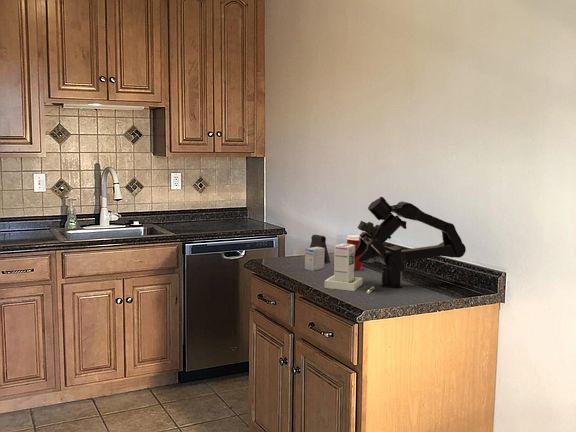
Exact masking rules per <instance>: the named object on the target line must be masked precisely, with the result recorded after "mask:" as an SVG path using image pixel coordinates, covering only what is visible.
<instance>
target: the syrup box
mask: <svg viewBox="0 0 576 432" xmlns="http://www.w3.org/2000/svg"><path fill="white" fill-rule="evenodd" d="M333 265H334V267H333V268H334V269H333V270H334V271H333V275H334V281H337V282H346V283H354V282H355V277H356V276H355V273H356V271H355V245H353V244H347V243H341V244H337V245H334V263H333Z"/></svg>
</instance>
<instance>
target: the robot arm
mask: <svg viewBox="0 0 576 432" xmlns="http://www.w3.org/2000/svg"><path fill="white" fill-rule="evenodd" d="M367 210H368V211H369V212H370V213H371V214H372V215H373V216H374V217H375V219H377V220H378V221H382V222H381V223H380V224H376V225H375V226H374V223H373V222H371V221H368V222H366V221H363V220H360V222H359V224H358V226H357V229H358V230H360V231H362V232H361V233H360V234H358V235H359V236H360V237H361V238H360V237H359V242H360V243H359V245H358V247H357V249H356V250H355V257H357V256H359V255H361V254H362V255H361V257H360V258H359V259H358V261H359V262H362V263H363V262H366V261H368V260H370V259H373V258H375V257H377V258H378V260H379V263H380V262H381V264H382V267H383V268H384V269H383V271H382V273H381V284H382V285H381V286H382V287H386V288H387V287H388V288H397V289H398V288H399V289H400V288H401V287H402V286H403V285H404V283H403V272H404V271H405V268H406V265H405V264H404V263H405V262H409V261H415V260H417V261H418V260H422V259H431V258H437V257H445V258H446V257H447V258H456V259H457V258H462V257H463V256H464V255H465V253H466V252H467V251H466V250H467V249H466V245H465V244H464V243H463V240H462V238H461V237H460V235H459V233H458V232H457V229H456V226H455V225H454V224H453V223H451V222H448V221H445V220H442V219H440V218H438V217H436V216H433V215H431V214H429V213H426V212H424V211H423V210H421V209H420V208H419V207H417V206H416V205H414V204H413V203H410V202H408V201H403V200H402V201H399V202H397V204H393V205H390V203H388V202H387V200H386V199H385V197H383V196H379V198H377V199H375V200H374V201H372V202H371V203H370V204H369V205H368V206H367ZM393 213H394V214H395V215H394V214H393ZM401 218H404V219H407V220H411V221H416V222H420V223H422V224H425V225H426V226H428V227H429V226H430V227H432V228H434V229H436V230H439V231H440V232H441V236H442V242H441V243H439V244H435V245H429V246H428V245H427V246H421V247H414V248H408V249H407V248H406V249H403V247H400V246H398V245H392V246H385V245H384V244H385V242H387V240H390V239H392V235H393V234H394V233H395V232H396V231H398V229H399V228H402V229H404V230H406V229H407V221H406V220H402V219H401Z"/></svg>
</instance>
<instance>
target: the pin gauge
mask: <svg viewBox="0 0 576 432" xmlns="http://www.w3.org/2000/svg"><path fill="white" fill-rule="evenodd" d="M375 289H376V288H375V286H374V285H373V286H371V287H370V288H369V289H368V290H366V291H365V294H366V295H367V294H368V295H370V294H371V293H372V292H374V290H375Z"/></svg>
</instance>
